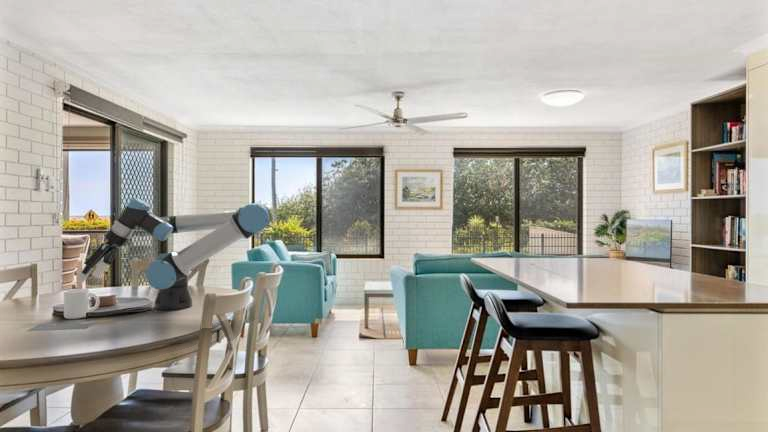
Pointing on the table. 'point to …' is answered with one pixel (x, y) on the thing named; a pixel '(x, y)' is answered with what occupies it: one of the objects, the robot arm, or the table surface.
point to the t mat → (63, 325)
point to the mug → (78, 303)
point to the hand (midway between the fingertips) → (87, 278)
